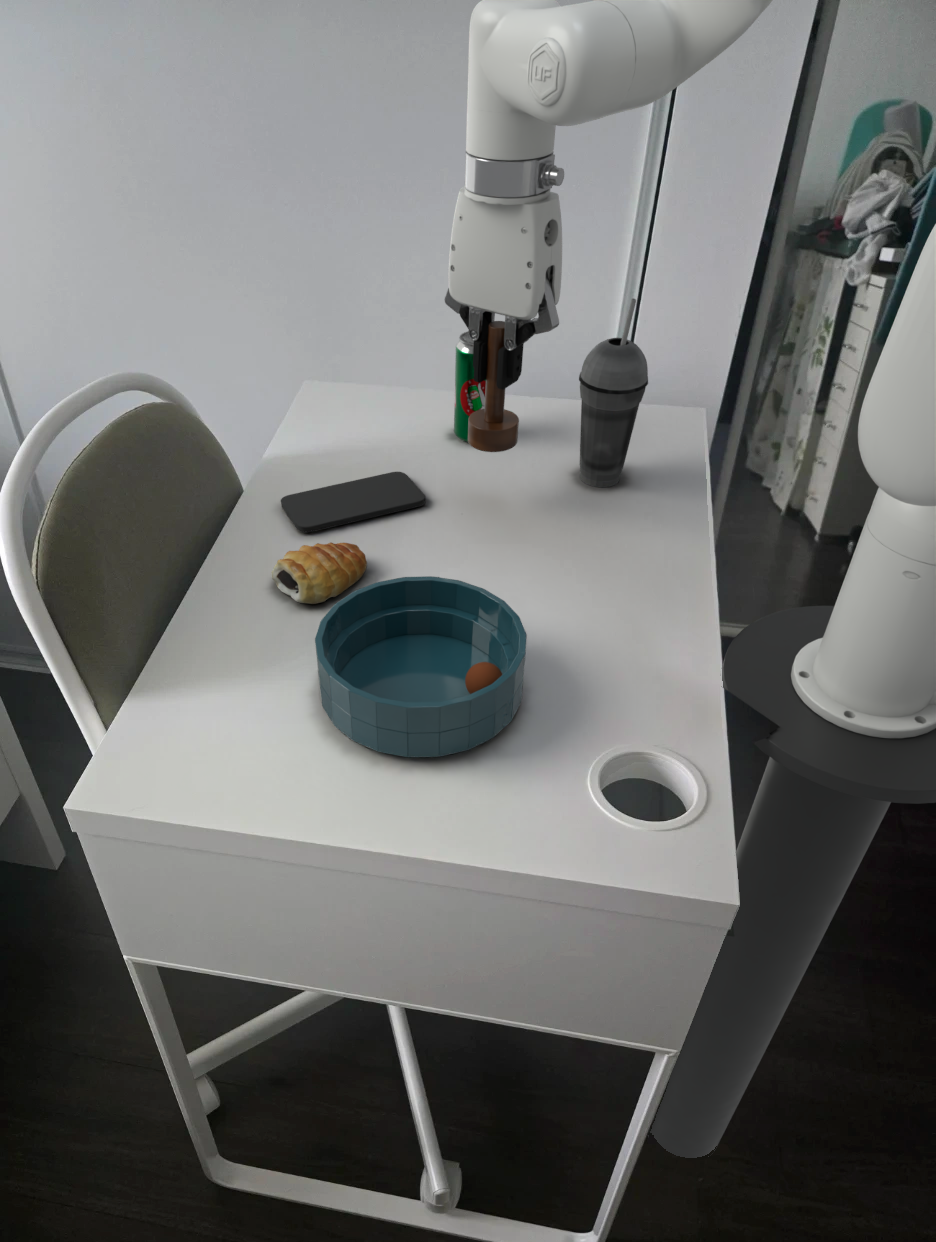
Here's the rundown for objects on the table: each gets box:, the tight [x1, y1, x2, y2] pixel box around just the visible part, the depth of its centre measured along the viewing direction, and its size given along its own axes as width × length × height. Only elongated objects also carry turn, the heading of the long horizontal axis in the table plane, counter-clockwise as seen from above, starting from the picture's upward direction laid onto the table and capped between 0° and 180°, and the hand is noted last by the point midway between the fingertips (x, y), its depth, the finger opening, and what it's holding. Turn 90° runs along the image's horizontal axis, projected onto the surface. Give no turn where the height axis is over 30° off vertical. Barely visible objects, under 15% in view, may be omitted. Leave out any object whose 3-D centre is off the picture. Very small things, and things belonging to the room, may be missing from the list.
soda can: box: [453, 330, 486, 443], centre depth 112 cm, size 5×5×12 cm
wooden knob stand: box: [467, 320, 520, 453], centre depth 95 cm, size 5×5×12 cm
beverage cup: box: [578, 297, 649, 488], centre depth 101 cm, size 7×7×20 cm
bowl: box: [314, 575, 528, 758], centre depth 79 cm, size 17×17×6 cm
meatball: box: [465, 662, 502, 694], centre depth 79 cm, size 3×3×3 cm
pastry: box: [271, 541, 368, 605], centre depth 92 cm, size 9×7×4 cm
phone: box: [280, 471, 426, 533], centre depth 104 cm, size 7×1×15 cm
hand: (496, 379), depth 94 cm, fingers closed on wooden knob stand
